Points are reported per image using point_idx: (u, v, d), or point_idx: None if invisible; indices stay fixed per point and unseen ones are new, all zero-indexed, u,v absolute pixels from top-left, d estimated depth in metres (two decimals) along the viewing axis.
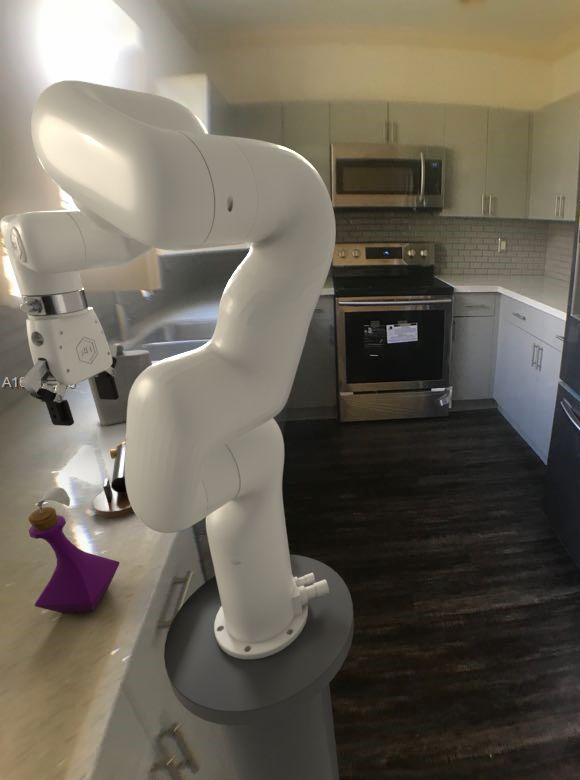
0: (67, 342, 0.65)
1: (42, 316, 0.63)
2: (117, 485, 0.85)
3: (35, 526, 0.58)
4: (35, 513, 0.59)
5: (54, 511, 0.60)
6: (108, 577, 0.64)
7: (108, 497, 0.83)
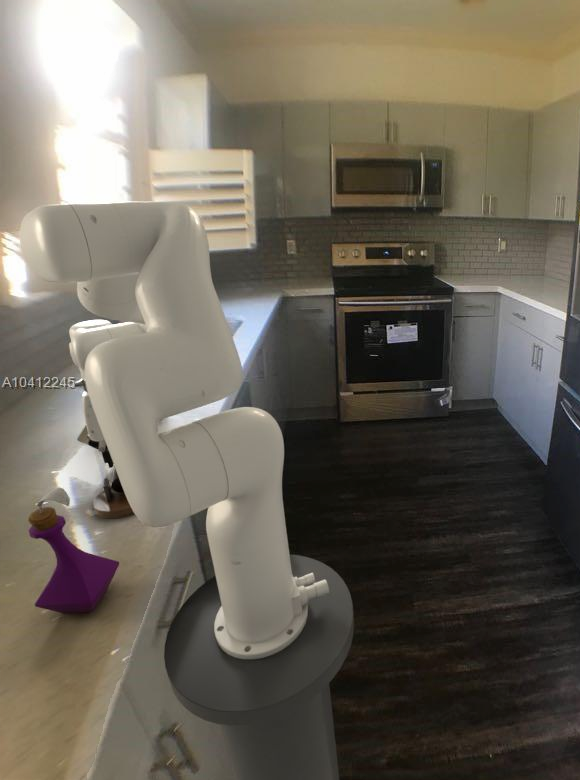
0: (94, 412, 0.90)
1: (85, 391, 0.90)
2: (117, 485, 0.85)
3: (35, 526, 0.58)
4: (35, 513, 0.59)
5: (54, 511, 0.60)
6: (108, 577, 0.64)
7: (108, 497, 0.83)
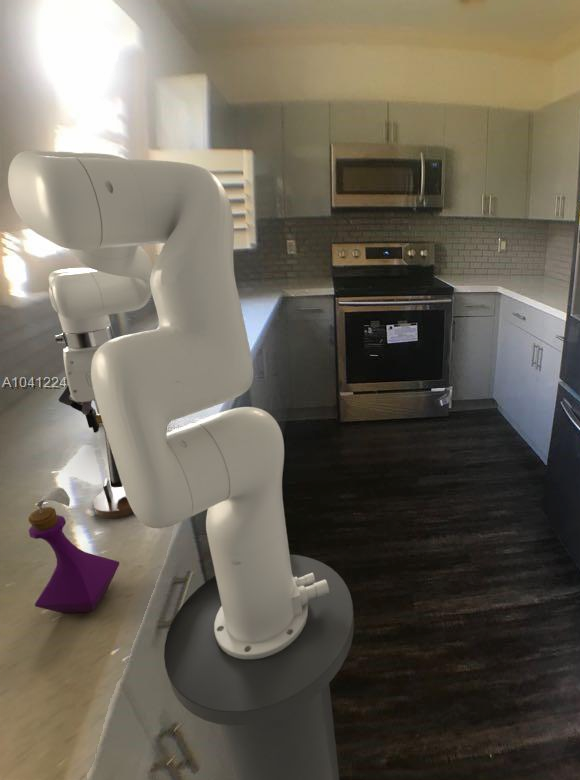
0: (77, 370, 0.82)
1: (67, 347, 0.82)
2: (117, 485, 0.85)
3: (35, 526, 0.58)
4: (35, 513, 0.59)
5: (54, 511, 0.60)
6: (108, 577, 0.64)
7: (108, 497, 0.83)
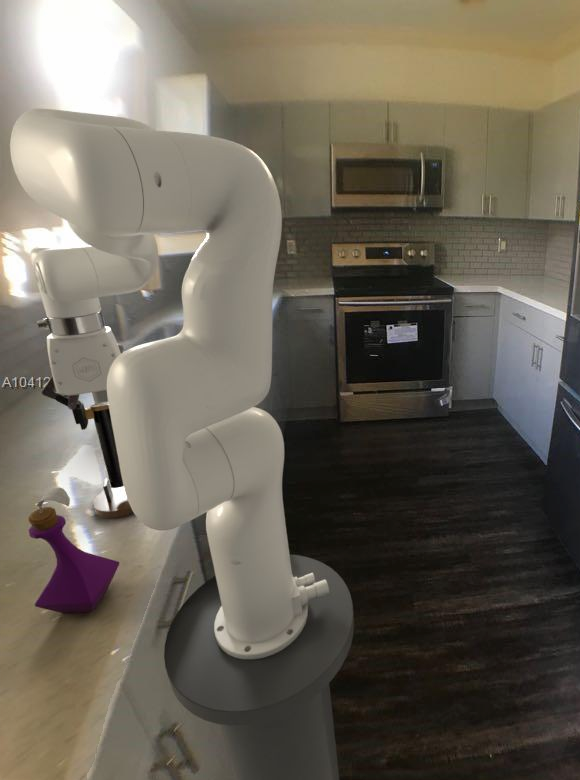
0: (62, 359, 0.73)
1: None
2: None
3: (35, 526, 0.58)
4: (35, 513, 0.59)
5: (54, 511, 0.60)
6: (108, 577, 0.64)
7: (108, 497, 0.83)
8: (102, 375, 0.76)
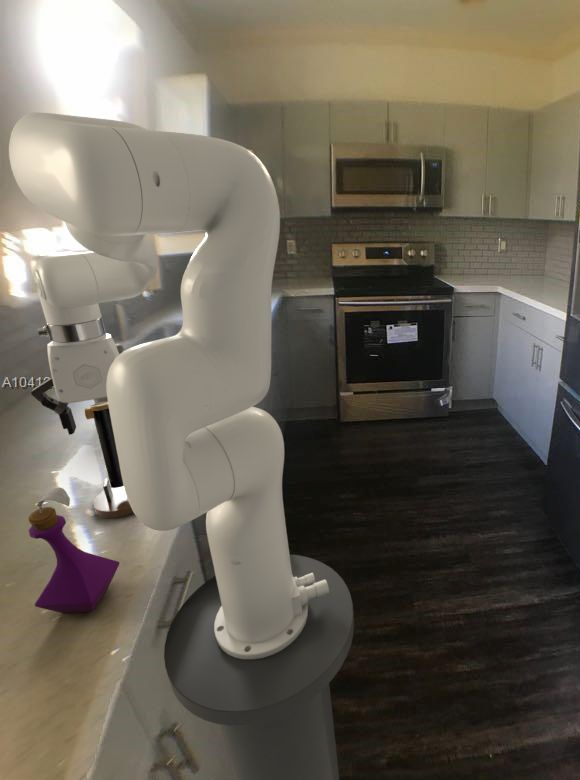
0: (63, 367, 0.73)
1: (52, 341, 0.73)
2: None
3: (35, 526, 0.58)
4: (35, 513, 0.59)
5: (54, 511, 0.60)
6: (108, 577, 0.64)
7: (108, 497, 0.83)
8: (103, 382, 0.76)
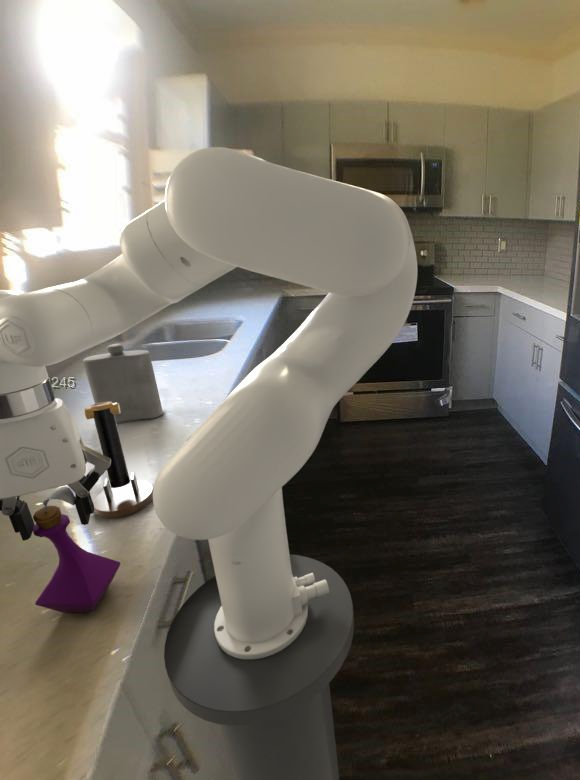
0: None
1: None
2: None
3: (39, 524, 0.58)
4: (40, 511, 0.59)
5: (59, 510, 0.60)
6: (109, 577, 0.64)
7: (108, 497, 0.83)
8: (51, 468, 0.55)
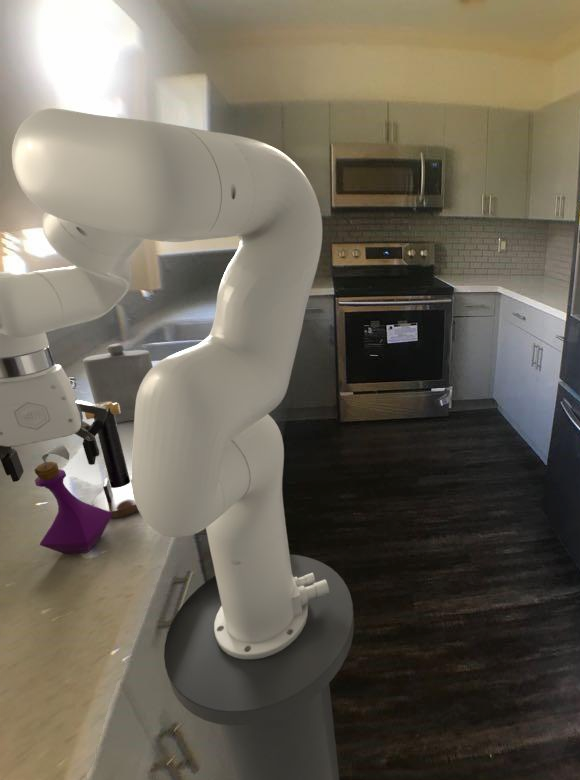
0: (2, 406, 0.62)
1: None
2: None
3: (40, 476, 0.69)
4: (40, 466, 0.70)
5: (56, 465, 0.71)
6: (102, 524, 0.75)
7: (108, 497, 0.83)
8: (51, 421, 0.65)
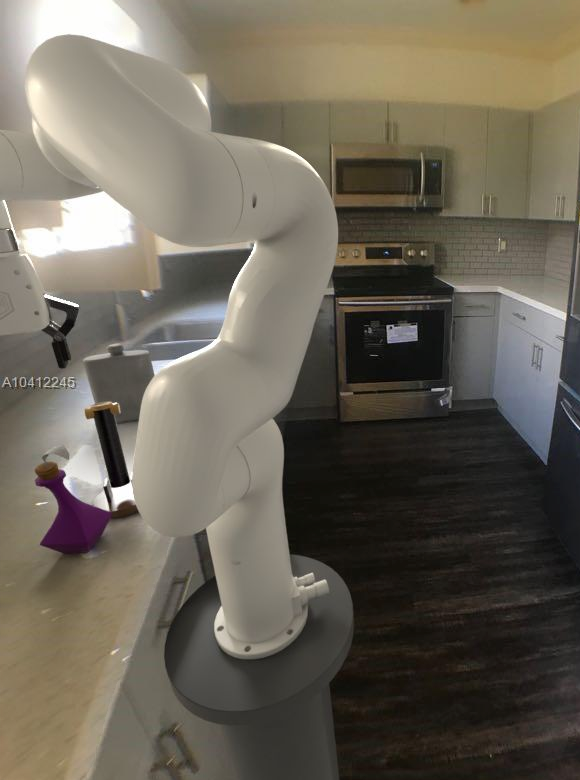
0: None
1: None
2: None
3: (40, 476, 0.69)
4: (40, 466, 0.70)
5: (56, 465, 0.71)
6: (102, 524, 0.75)
7: (108, 497, 0.83)
8: (15, 312, 0.60)
